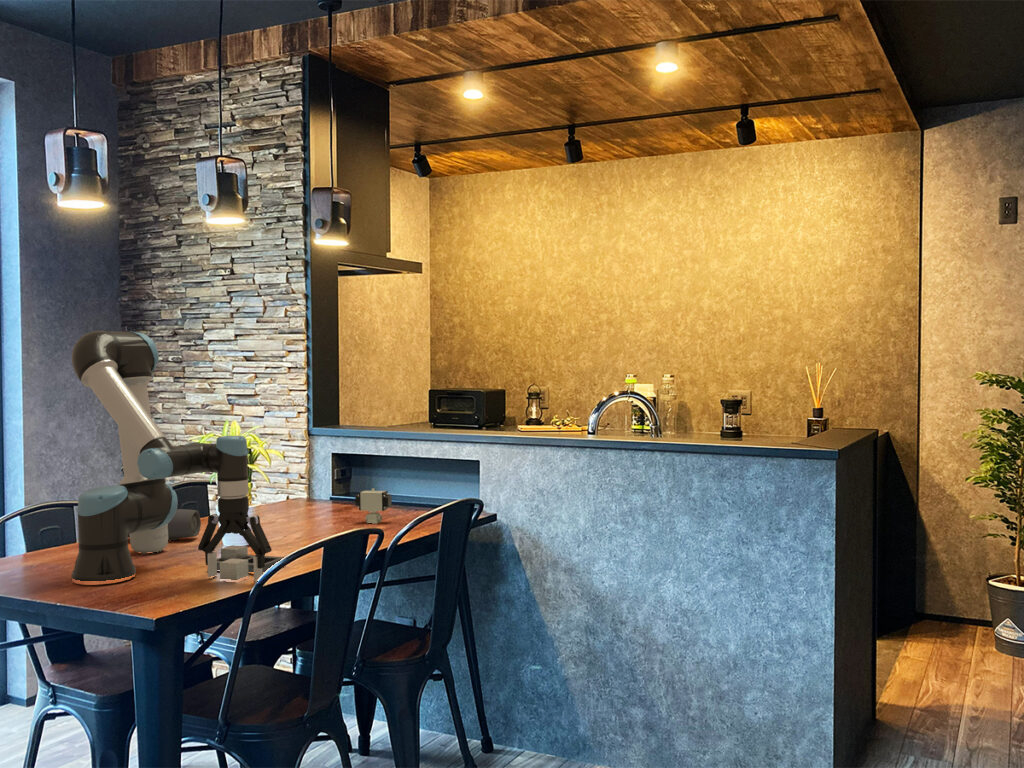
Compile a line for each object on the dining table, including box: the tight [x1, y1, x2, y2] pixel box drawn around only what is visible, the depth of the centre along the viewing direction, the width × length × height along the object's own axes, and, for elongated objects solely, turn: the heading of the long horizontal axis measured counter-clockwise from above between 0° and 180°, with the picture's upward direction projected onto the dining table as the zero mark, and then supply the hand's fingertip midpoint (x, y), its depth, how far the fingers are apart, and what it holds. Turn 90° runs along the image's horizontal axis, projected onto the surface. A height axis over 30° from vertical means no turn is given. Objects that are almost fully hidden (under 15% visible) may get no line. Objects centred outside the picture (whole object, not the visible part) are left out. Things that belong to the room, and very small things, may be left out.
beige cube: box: [219, 558, 249, 580], centre depth 235 cm, size 5×5×5 cm
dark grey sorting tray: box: [217, 544, 285, 573], centre depth 248 cm, size 11×17×6 cm, turn 71°
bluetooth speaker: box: [128, 508, 202, 541], centre depth 290 cm, size 23×9×10 cm, turn 89°
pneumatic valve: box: [354, 488, 393, 525], centre depth 317 cm, size 6×12×12 cm, turn 80°
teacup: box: [129, 524, 169, 553], centre depth 273 cm, size 14×11×8 cm
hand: (235, 579), depth 235 cm, fingers open, 13 cm apart
